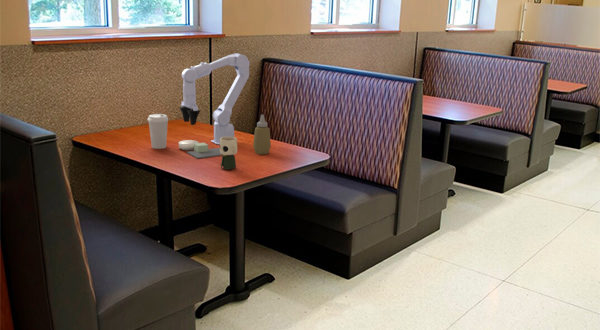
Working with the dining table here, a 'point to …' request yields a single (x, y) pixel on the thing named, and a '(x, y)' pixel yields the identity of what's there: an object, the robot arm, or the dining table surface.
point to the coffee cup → (158, 130)
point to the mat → (206, 153)
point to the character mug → (228, 152)
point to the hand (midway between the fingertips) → (189, 123)
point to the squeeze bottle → (262, 137)
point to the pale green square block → (200, 147)
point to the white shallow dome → (187, 144)
